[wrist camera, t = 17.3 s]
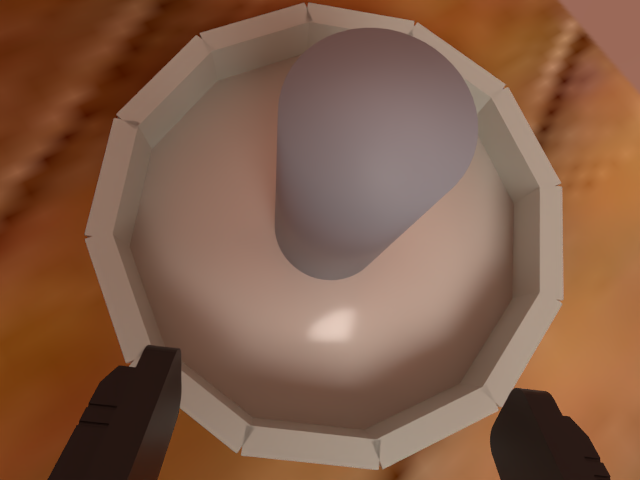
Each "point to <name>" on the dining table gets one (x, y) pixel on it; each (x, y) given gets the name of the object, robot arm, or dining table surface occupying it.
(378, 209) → the grey peg
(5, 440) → the dining table surface
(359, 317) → the round tray
